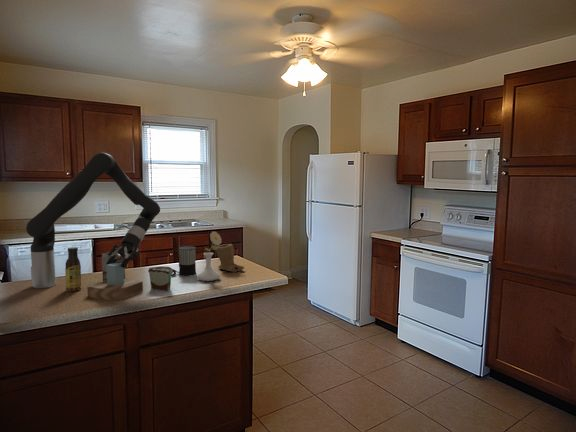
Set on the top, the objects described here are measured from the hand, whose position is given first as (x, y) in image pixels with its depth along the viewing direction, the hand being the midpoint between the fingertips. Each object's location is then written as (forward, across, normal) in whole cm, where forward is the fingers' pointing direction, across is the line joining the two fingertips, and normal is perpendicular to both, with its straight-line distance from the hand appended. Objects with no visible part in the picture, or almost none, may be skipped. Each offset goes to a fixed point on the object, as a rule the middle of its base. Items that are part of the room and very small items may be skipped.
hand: (115, 266), depth 168 cm
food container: (-2, +14, +20) cm, 24 cm away
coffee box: (+1, -13, +17) cm, 21 cm away
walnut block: (+9, 0, +9) cm, 13 cm away
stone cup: (-32, +23, +50) cm, 64 cm away
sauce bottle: (+12, -22, +6) cm, 26 cm away
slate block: (+6, 0, +6) cm, 8 cm away
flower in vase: (-17, +25, +35) cm, 46 cm away
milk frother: (-18, +5, +36) cm, 40 cm away
